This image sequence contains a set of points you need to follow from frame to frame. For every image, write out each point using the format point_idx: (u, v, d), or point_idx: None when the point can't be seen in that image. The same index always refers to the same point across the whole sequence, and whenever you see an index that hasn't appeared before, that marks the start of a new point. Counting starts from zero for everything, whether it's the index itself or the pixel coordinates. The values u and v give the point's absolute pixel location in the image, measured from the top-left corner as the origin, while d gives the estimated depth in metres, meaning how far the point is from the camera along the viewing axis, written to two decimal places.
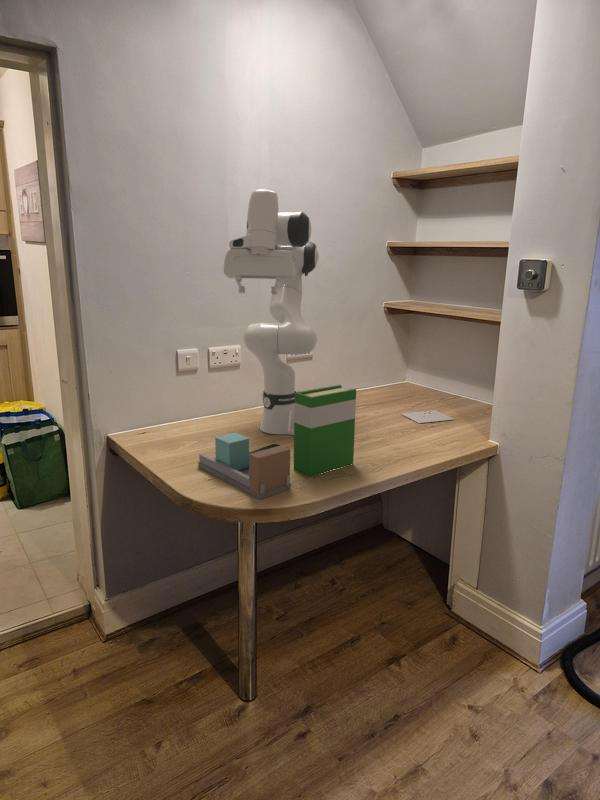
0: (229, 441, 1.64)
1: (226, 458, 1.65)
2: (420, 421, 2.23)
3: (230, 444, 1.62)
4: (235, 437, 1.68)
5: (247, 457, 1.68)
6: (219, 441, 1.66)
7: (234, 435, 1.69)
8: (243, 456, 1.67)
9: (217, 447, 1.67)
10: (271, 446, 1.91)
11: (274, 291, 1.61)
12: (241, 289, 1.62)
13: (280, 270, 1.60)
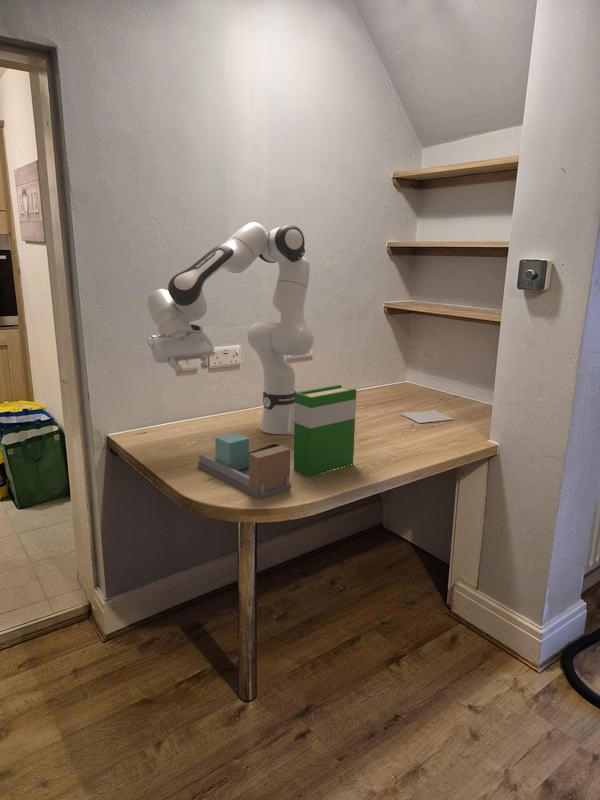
0: (229, 441, 1.64)
1: (226, 458, 1.65)
2: (420, 421, 2.23)
3: (230, 444, 1.62)
4: (235, 437, 1.68)
5: (247, 457, 1.68)
6: (219, 441, 1.66)
7: (234, 435, 1.69)
8: (243, 456, 1.67)
9: (217, 447, 1.67)
10: (271, 446, 1.91)
11: None
12: None
13: None
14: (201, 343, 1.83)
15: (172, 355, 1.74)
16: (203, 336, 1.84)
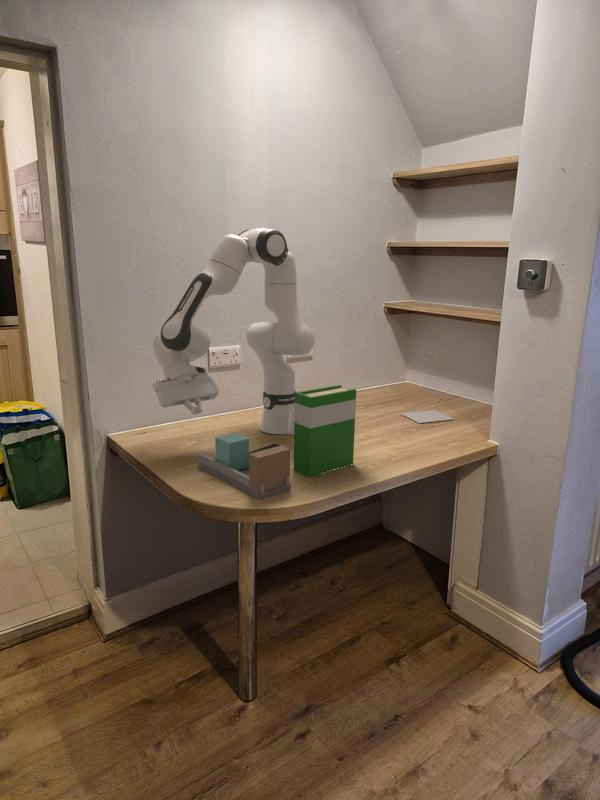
0: (229, 441, 1.64)
1: (226, 458, 1.65)
2: (420, 421, 2.23)
3: (230, 444, 1.62)
4: (235, 437, 1.68)
5: (247, 457, 1.68)
6: (219, 441, 1.66)
7: (234, 435, 1.69)
8: (243, 456, 1.67)
9: (217, 447, 1.67)
10: (271, 446, 1.91)
11: None
12: None
13: None
14: (206, 385, 1.84)
15: (177, 399, 1.76)
16: (208, 378, 1.86)
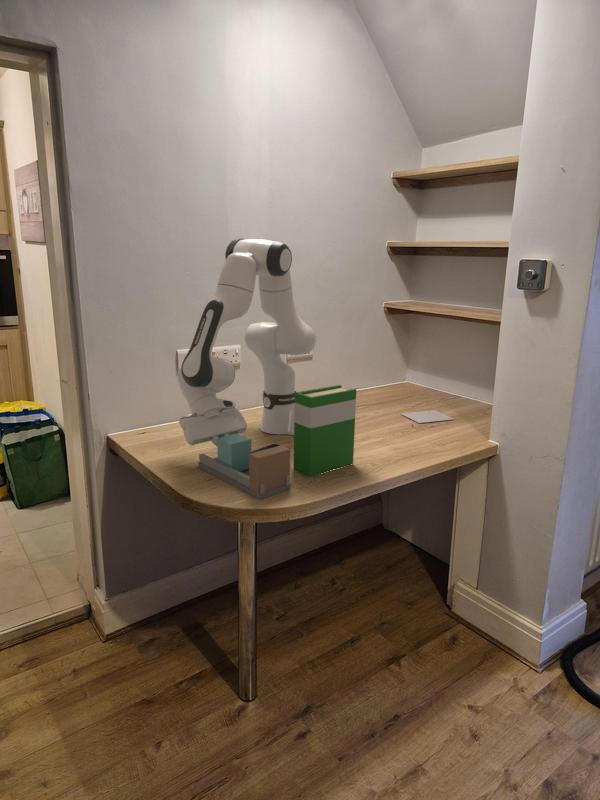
0: (231, 442, 1.63)
1: (228, 459, 1.64)
2: (420, 421, 2.23)
3: (232, 445, 1.62)
4: (238, 438, 1.67)
5: None
6: (221, 442, 1.65)
7: (236, 436, 1.68)
8: (246, 457, 1.66)
9: (219, 448, 1.67)
10: (271, 446, 1.91)
11: None
12: None
13: None
14: (234, 419, 1.76)
15: (205, 436, 1.67)
16: (236, 412, 1.77)
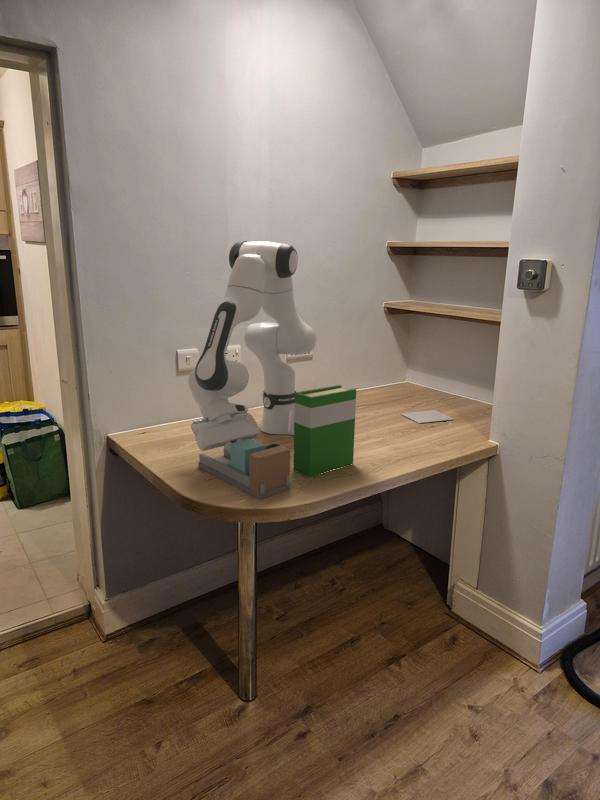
0: (245, 448, 1.58)
1: (241, 466, 1.59)
2: (420, 421, 2.23)
3: (246, 451, 1.57)
4: (251, 443, 1.62)
5: None
6: (234, 448, 1.61)
7: (250, 442, 1.63)
8: None
9: (232, 454, 1.62)
10: (271, 446, 1.91)
11: None
12: None
13: None
14: (246, 424, 1.71)
15: (217, 442, 1.62)
16: (248, 416, 1.73)
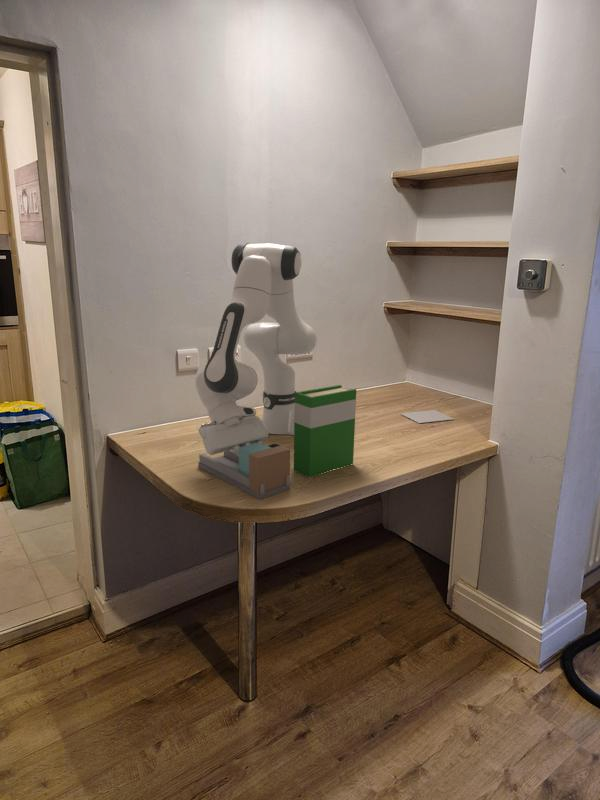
0: (254, 452, 1.55)
1: None
2: (420, 421, 2.23)
3: None
4: (260, 447, 1.59)
5: None
6: (242, 452, 1.58)
7: (258, 445, 1.60)
8: None
9: (240, 458, 1.59)
10: (271, 446, 1.91)
11: None
12: None
13: None
14: (254, 427, 1.68)
15: (225, 446, 1.60)
16: (256, 419, 1.70)
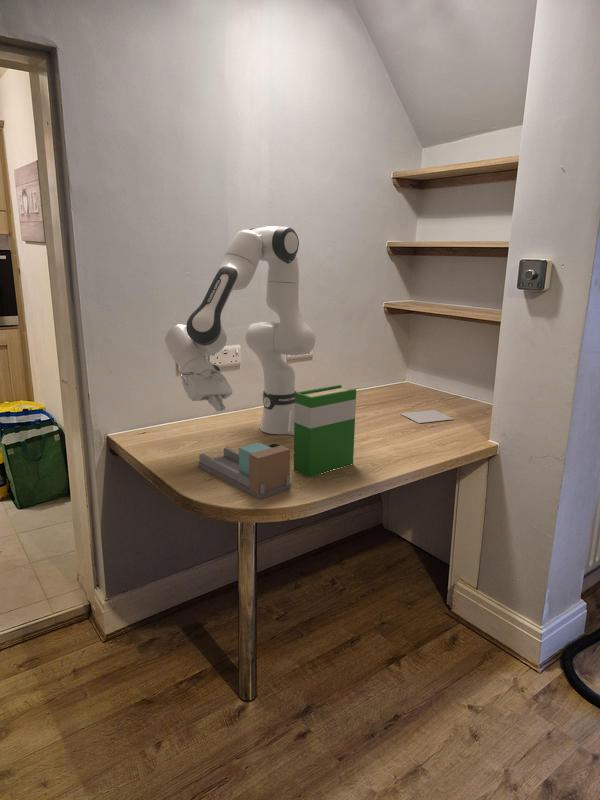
0: (254, 452, 1.55)
1: None
2: (420, 421, 2.23)
3: None
4: (260, 447, 1.59)
5: None
6: (243, 452, 1.58)
7: (259, 446, 1.60)
8: None
9: (240, 459, 1.59)
10: (271, 446, 1.91)
11: None
12: None
13: None
14: (222, 383, 1.80)
15: (207, 394, 1.68)
16: (222, 377, 1.81)
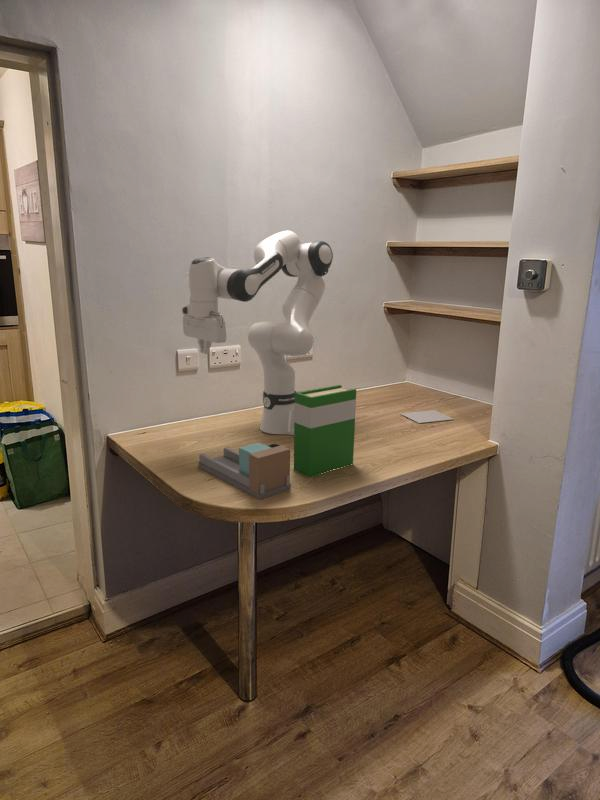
0: (254, 452, 1.55)
1: None
2: (420, 421, 2.23)
3: None
4: (260, 447, 1.59)
5: None
6: (243, 452, 1.58)
7: (259, 446, 1.60)
8: None
9: (240, 459, 1.59)
10: (271, 446, 1.91)
11: (204, 352, 1.84)
12: (201, 351, 1.85)
13: (210, 337, 1.78)
14: None
15: None
16: None
